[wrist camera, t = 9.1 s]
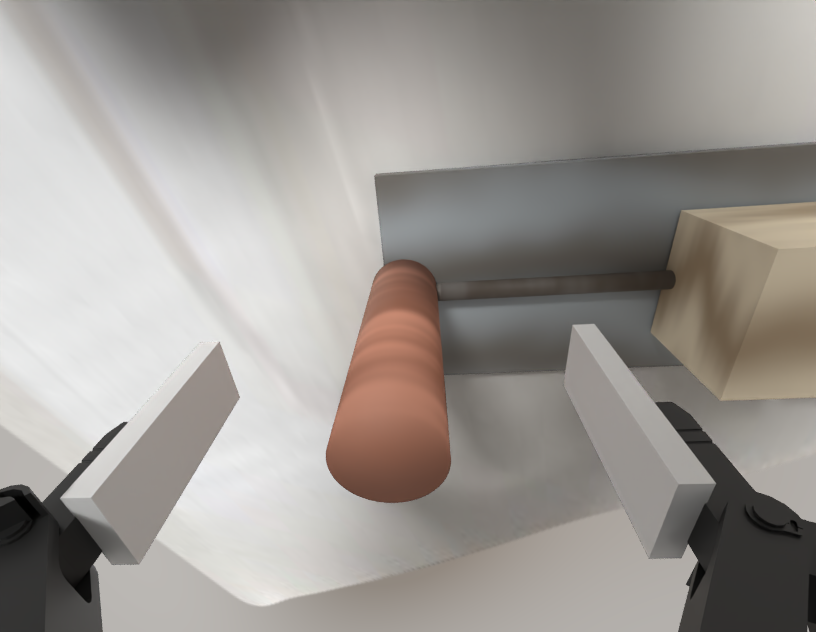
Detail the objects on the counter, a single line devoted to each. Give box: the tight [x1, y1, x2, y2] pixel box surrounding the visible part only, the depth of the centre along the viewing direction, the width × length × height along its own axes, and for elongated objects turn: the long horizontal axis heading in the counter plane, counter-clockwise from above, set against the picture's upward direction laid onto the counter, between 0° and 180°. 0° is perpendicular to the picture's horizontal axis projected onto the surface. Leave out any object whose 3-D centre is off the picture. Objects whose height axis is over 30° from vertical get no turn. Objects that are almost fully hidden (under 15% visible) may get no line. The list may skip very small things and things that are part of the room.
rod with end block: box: [326, 202, 816, 503], centre depth 16 cm, size 7×23×12 cm, turn 94°
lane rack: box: [374, 142, 816, 375], centre depth 19 cm, size 12×37×5 cm, turn 94°
